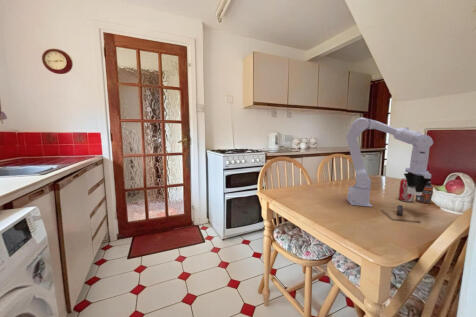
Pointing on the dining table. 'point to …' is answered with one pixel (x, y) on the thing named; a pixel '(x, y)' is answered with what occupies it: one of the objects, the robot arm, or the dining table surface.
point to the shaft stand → (400, 215)
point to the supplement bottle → (425, 194)
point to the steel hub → (413, 191)
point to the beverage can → (405, 191)
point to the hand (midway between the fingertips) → (414, 190)
